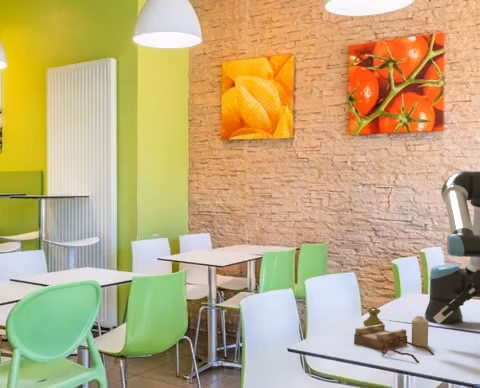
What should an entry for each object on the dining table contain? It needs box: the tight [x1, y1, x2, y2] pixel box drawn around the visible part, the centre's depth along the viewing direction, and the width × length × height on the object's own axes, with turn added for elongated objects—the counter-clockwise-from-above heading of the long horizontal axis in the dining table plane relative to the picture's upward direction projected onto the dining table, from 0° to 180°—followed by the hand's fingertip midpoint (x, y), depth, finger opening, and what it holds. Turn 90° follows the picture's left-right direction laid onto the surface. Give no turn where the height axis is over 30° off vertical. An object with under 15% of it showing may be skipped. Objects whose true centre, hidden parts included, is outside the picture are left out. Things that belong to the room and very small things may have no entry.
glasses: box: [381, 336, 436, 364], centre depth 190 cm, size 13×13×5 cm
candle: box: [410, 315, 429, 348], centre depth 202 cm, size 6×6×10 cm
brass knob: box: [362, 306, 384, 327], centre depth 218 cm, size 7×7×10 cm
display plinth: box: [353, 323, 408, 351], centre depth 204 cm, size 14×12×5 cm
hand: (439, 317), depth 198 cm, fingers open, 13 cm apart
